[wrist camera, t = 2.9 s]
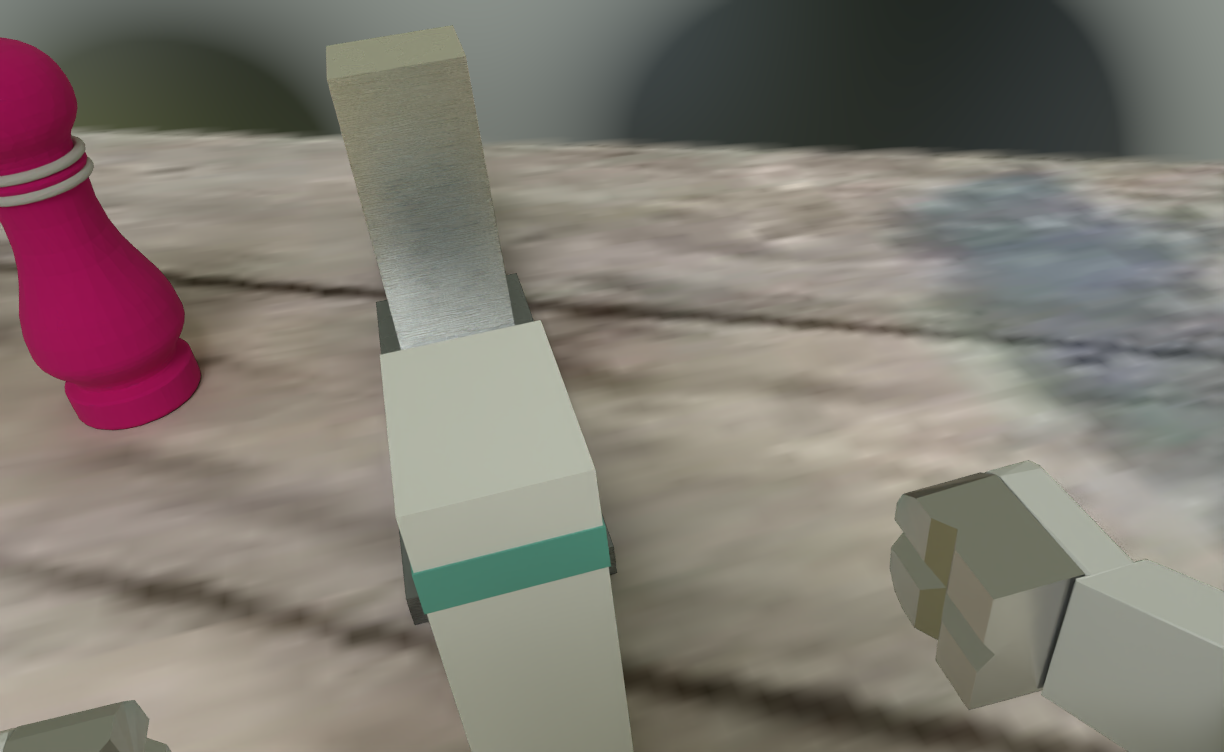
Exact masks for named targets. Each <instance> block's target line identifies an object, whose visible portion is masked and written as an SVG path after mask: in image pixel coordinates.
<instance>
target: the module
mask: <svg viewBox="0 0 1224 752" xmlns="http://www.w3.org/2000/svg"><path fill="white" fill-rule="evenodd" d="M380 363H381V373H382V383H383V393H384V403H385V414H386V424H387V434H388V444H389V454H390V464H391V474H392V484H393V495H394V505H395V515H396V520H397V523H398V526H399V529H400V532H401V536H402V539H403V542H404V545H405V548H406V551H407V554H408V557H409V560H410V565H411V574H412V578H413V581H414V584H415V587H416V590H417V593H418V596H419V599H420V602H421V605H422V608H423V612H424V615H425V614H427V616H428V619H429V622H430V625H431V628H432V631H433V634H434V638H435V641H436V644H437V647H438V650H439V653H440V656H441V659H442V662H443V665H444V668H445V671H446V675H447V678H448V681H449V684H450V687H451V690H452V693H453V696H454V699H455V702H456V705H457V709H458V712H459V715H460V718H461V721H462V724H463V727H464V730H465V733H466V736H467V739H468V743H469V746H470V749H471V752H634V751H633V744H632V736H631V729H630V721H629V714H628V706H627V699H626V692H625V684H624V677H623V669H622V662H621V655H620V647H619V640H618V632H617V625H616V618H615V610H614V603H613V595H612V588H611V581H610V573H609V567H610V566H611V563H610V556H609V548H608V541H607V533H606V526H605V523H604V520H603V518H602V514H601V507H600V499H599V492H598V484H597V477H596V470H595V467H594V464H593V461H592V459H591V456H590V453H589V450H588V448H587V445H586V442H585V439H584V437H583V434H582V431H581V429H580V426H579V423H578V420H577V418H576V415H575V412H574V410H573V407H572V404H571V401H570V399H569V396H568V393H567V391H566V388H565V385H564V382H563V380H562V377H561V374H560V371H559V369H558V366H557V363H556V361H555V358H554V355H553V352H552V350H551V347H550V344H549V342H548V339H547V336H546V333H545V331H544V328H543V325H542V322H541V320H539V321H534V322H529V323H525V324H520V325H515V326H511V327H506V328H502V329H497V330H492V331H488V332H483V333H478V334H474V335H469V336H465V337H460V338H455V339H451V340H446V341H441V342H437V343H432V344H428V345H423V346H418V347H414V348H409V349H404V350H400V351H395V352H391V353H386V354H381V355H380Z"/></svg>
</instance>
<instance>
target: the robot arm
mask: <svg viewBox="0 0 1224 752" xmlns="http://www.w3.org/2000/svg"><path fill="white" fill-rule="evenodd" d="M895 521H896V522H897V524H898V525H899V526H900V528H901V529H902V531H903V534H902V535H901V536H900V537H899V539H898V540H897V541H896V542H895V543H894V545H893V546H892V547H891V558H890V572H891V576H892V581H893V585H894V590H895V593H896V595H897V597H898V600H899V602H900V604H901V606H902V609H903V610H904V612H905V614H906V615H907V617H908V618H909V620H910V621H911V623H912V625H913V626H914V628H916V629H918V630H920V631H922V632H924V633H925V634H927V635H929V636H931V637H933V638H935V639H937V640H938V643H937V651H936V662H937V663H938V665H939V666H940V668H941V669H942V671H943V672H944V674H945V675H946V677H947V678H948V680H949V681H950V683H951V684H952V686H953V687H954V689H955V690H956V692H957V693H958V695H959V697H960V698H961V700H962V701H963V703H964V704H965V706H966V707H967V709H968V710H972V709H975V708H979V707H983V706H986V705H990V704H994V703H997V702H1001V701H1005V700H1008V699H1012V698H1016V697H1019V696H1023V695H1027V694H1030V693H1034V692H1038V691H1041V690H1042V693H1041V695H1042V696H1044V697H1045V698H1047V699H1048V700H1050V701H1052V702H1053V703H1055V704H1056V705H1058V706H1059V707H1061V708H1062V709H1064V710H1065V711H1067V712H1068V713H1070V714H1072V715H1073V716H1075V717H1076V718H1078V719H1079V720H1081V721H1082V722H1084V723H1085V724H1087V725H1088V726H1090V727H1092V728H1093V729H1095V730H1096V731H1098V732H1099V733H1101V734H1102V735H1104V736H1105V737H1107V738H1109V739H1110V740H1112V741H1113V742H1115V743H1116V744H1118V745H1119V746H1121V747H1122V748H1124V749H1125V750H1127V751H1129V752H1224V591H1222V590H1220V589H1217V588H1215V587H1213V586H1210V585H1208V584H1205V583H1203V582H1200V581H1198V580H1196V579H1193V578H1191V577H1188V576H1186V575H1184V574H1181V573H1179V572H1176V571H1174V570H1172V569H1169V568H1167V567H1164V566H1162V565H1160V564H1157V563H1155V562H1152V561H1150V560H1148V559H1145V560H1141V561H1136V562H1133V561H1132V560H1131V559H1130V558H1129V557H1128V556H1127V555H1126V553H1125V552H1124V551H1123V550H1122V549H1121V548H1120V547H1119V546H1118V545H1117V544H1116V543H1115V542H1114V541H1113V540H1112V539H1111V538H1110V537H1109V536H1108V535H1107V534H1106V533H1105V532H1104V531H1103V530H1102V529H1101V528H1100V527H1099V526H1098V525H1097V524H1096V523H1095V522H1094V521H1093V520H1092V519H1091V517H1090V516H1089V515H1088V514H1087V513H1086V512H1085V511H1084V510H1083V509H1082V508H1081V507H1080V506H1079V505H1078V504H1077V503H1076V502H1075V501H1074V500H1073V499H1072V498H1071V497H1070V496H1069V495H1068V494H1067V493H1066V492H1065V491H1064V490H1063V489H1062V488H1061V487H1060V486H1059V485H1058V484H1057V482H1056V481H1055V480H1054V479H1053V478H1052V477H1051V476H1050V475H1049V474H1048V473H1047V472H1046V471H1045V470H1044V469H1043V468H1042V467H1041V466H1040V465H1038V464H1036V463H1033V462H1031V461H1029V460H1028V461H1024V462H1021V463H1017V464H1013V465H1009V466H1006V467H1002V468H998V469H994V470H990V471H987V472H985V473H977V474H973V475H970V476H966V477H962V478H959V479H955V480H952V481H948V482H944V483H941V484H937V485H934V486H930V487H926V488H923V489H919V490H916V491H912V492H908V493H905V494H903V495H902V496H901V498H900V499H899V501H898V502H897V505H896V513H895ZM148 724H149V718H148V717H147V716H146V714H145V713H144V712H143V710H142V709H141V708H140V706H139V705H138V704H137V703H136V701H135V700H131V701H124V702H120V703H115V704H111V705H107V706H103V707H99V708H94V709H90V710H86V711H82V712H78V713H74V714H69V715H65V716H61V717H57V718H53V719H48V720H44V721H40V722H36V723H32V724H27V725H23V726H19V727H17V728H13V729H9V730H5V731H1V732H0V752H171V750H170V749H169V747H168V746H167V745H166V744H163V743H160V742H157V741H154V740H152V739H149V738H146V736H147V730H148Z"/></svg>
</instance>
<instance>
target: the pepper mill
mask: <svg viewBox="0 0 1224 752" xmlns="http://www.w3.org/2000/svg"><path fill="white" fill-rule="evenodd" d="M76 113H77V101H76V97H75V94H74V90H73V88H72V86H71V84H70V82H69V80H68V78H67V77H66V75H65V74H64V73H63V71H62V70H61V68H60V67H59V66H58V65H57V64H56V63H55V62H54V61H53V60H52V59H51V58H50V57H49V56H48V55H46V54H45V53H43V52H42V51H40V50H39V49H37V48H36V47H34V46H31V45H29V44H26V43H23V42H20V41H18V40H13V39H7V38H0V222H1V224H2V225H3V227H4V230H5V232H6V235H7V237H8V239H9V242H10V244H11V247H12V249H13V252H14V256H15V261H16V265H17V270H18V280H19V318H20V323H21V328H22V333H23V337H24V341H25V343H26V345H27V347H28V350H29V352H30V354H31V356H32V358H33V360H34V361H35V363H36V364H37V365H38V366H39V367H40V368H41V369H42V370H43V371H44V372H46V373H48V374H50V375H51V376H53V377H56V378H58V379H61V380H64V381H66V383H65V393H66V395H67V397H68V399H69V401H70V403H71V404H72V406H73V408H74V410H75V412H76V414H77V415H78V417H79V419H80V420H81V421H82V422H84V423H85V424H86V425H89V426H91V427H94V428H96V429H105V430H118V429H127V428H132V427H136V426H140V425H143V424H146V423H149V422H151V421H154V420H156V419H159V418H161V417H163V416H165V415H167V414H169V413H170V412H172V411H174V410H175V409H177V408H178V407H179V406H181V405H182V404H183V403H184V402H186V401H187V400H188V399H189V398H190V397H191V395H192V394H193V393H194V392H195V390H196V389H197V386H198V384H199V381H200V376H201V373H200V369H199V366H198V364H197V362H196V360H195V357H194V355H193V353H192V351H191V348H190V346H189V344H188V343H187V342H186V341H184V340H182V339H181V338H179V336H180V334H181V331H182V329H183V324H184V317H185V312H184V309H183V305H182V302H181V301H180V299H179V297H178V295H177V294H176V292H175V290H174V288H173V287H172V285H171V283H170V282H169V281H168V280H167V278H166V277H165V276H164V275H163V274H162V272H161V271H160V270H159V269H158V268H157V267H156V266H155V265H154V264H153V263H152V262H150V261H149V260H148V259H147V258H146V257H145V256H144V255H143V254H142V253H140V252H139V251H138V250H137V249H136V248H135V247H134V246H133V245H132V244H131V243H130V242H129V241H128V240H127V239H125V238H124V237H123V236H122V235H121V233H120V232H119V231H118V230H117V228H116V227H115V226H114V225H113V223H112V222H111V221H110V220H109V218H108V217H107V215H106V213H105V211H104V210H103V208H102V206H101V205H100V203H99V201H98V199H97V198H96V196H95V193H94V190H93V188H92V185H91V182H90V179H89V176H90V174H91V173H92V171H93V168H94V165H93V162H92V160H91V159H90V158H89V157H87V155H86V153H85V144H84V142H83V141H82V140H81V139H80V138H78V137H75V136H72V135H71V129H72V127H73V124H74V121H75V118H76Z"/></svg>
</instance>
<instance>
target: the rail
mask: <svg viewBox="0 0 1224 752" xmlns="http://www.w3.org/2000/svg"><path fill="white" fill-rule="evenodd" d="M326 61H327V62H326V63H327V81H328V85H329V89H330V92H331V96H332V100H333V103H334V107H335V110H336V114H337V118H338V121H339V125H340V128H341V132H342V136H343V140H344V143H345V147H346V151H347V154H348V158H349V162H350V165H351V169H352V172H353V176H354V180H355V183H356V187H357V191H358V194H359V198H360V202H361V205H362V209H363V213H364V216H365V220H366V224H367V227H368V231H369V234H370V238H371V242H372V245H373V249H374V253H375V256H376V260H377V264H378V267H379V271H380V275H381V278H382V282H383V285H384V289H385V293H386V296H387V300H384V301H379V302H376V307H377V317H378V327H379V337H380V347H381V354H386V353H391V352H395V351H400V350H404V349H409V348H414V347H418V346H423V345H428V344H432V343H437V342H441V341H446V340H451V339H455V338H460V337H465V336H469V335H474V334H478V333H483V332H488V331H492V330H497V329H502V328H506V327H511V326H515V325H520V324H525V323H529V322H534V321H533V318H532V315H531V312H530V310H529V307H528V304H527V301H526V298H525V296H524V293H523V290H522V287H521V284H520V281H519V279H518V276H517V273H515V274H510V275H505V270H504V264H503V259H502V253H501V247H500V242H499V236H498V231H497V225H496V220H495V214H494V209H493V203H492V198H491V192H490V187H489V181H488V176H487V170H486V165H485V159H484V154H483V148H482V142H481V137H480V131H479V126H478V120H477V115H476V109H475V104H474V98H473V93H472V87H471V82H470V76H469V71H468V65H467V60H466V55H465V53H464V51H463V48H462V46H461V44H460V42H459V39H458V37H457V34H456V32H455V30H454V27H453V25H452V26H445V27H439V28H433V29H427V30H421V31H415V32H409V33H403V34H397V35H390V36H384V37H378V38H372V39H366V40H361V41H354V42H348V43H341V44H336V45H329V46H326ZM601 514H602V512H601ZM602 518H603V515H602ZM603 520H604V518H603ZM604 523H605V521H604ZM605 526H606V524H605ZM606 533H607V541H608V548H609V556H610V563H611V566H610V567H609V573H610V574H614V573H617V569H616V561H615V554H614V546H613V543H612V541H611V538H610V535H609V532H608V529H607V526H606ZM399 534H400V544H401V554H402V564H403V574H404V583H405V593H406V601H407V604H408V607H409V610H410V612H411V615H412V618H413V621H414V624H415V625H417V624H421V623H425V622H429V619H428V616H427V614H425V615H424V612H423V608H422V605H421V602H420V599H419V596H418V593H417V590H416V587H415V584H414V581H413V578H412V574H411V565H410V560H409V557H408V554H407V551H406V548H405V545H404V542H403V539H402V536H401V532H400V529H399Z"/></svg>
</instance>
